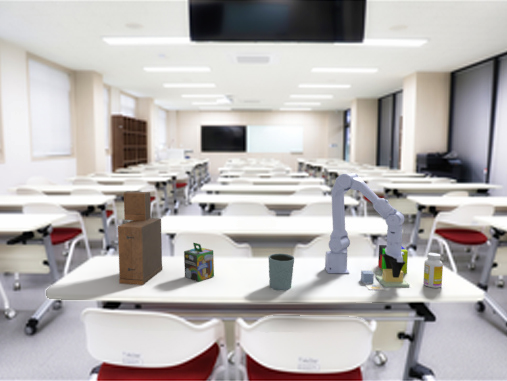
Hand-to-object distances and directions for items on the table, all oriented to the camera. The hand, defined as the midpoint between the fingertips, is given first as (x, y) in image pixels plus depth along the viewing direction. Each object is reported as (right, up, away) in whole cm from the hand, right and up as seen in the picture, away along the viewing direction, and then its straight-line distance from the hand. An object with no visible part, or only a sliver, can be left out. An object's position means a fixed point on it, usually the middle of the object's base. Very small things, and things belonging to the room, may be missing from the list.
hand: (392, 274), depth 153 cm
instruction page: (-9, -4, -5) cm, 11 cm away
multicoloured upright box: (-80, -3, +5) cm, 80 cm away
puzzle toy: (+6, -2, +17) cm, 18 cm away
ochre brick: (0, -2, 0) cm, 2 cm away
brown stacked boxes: (-105, -2, +7) cm, 105 cm away
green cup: (-46, -4, -5) cm, 47 cm away
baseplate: (0, -3, 0) cm, 3 cm away
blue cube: (-10, -3, +2) cm, 11 cm away
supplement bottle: (+15, -4, -3) cm, 16 cm away
